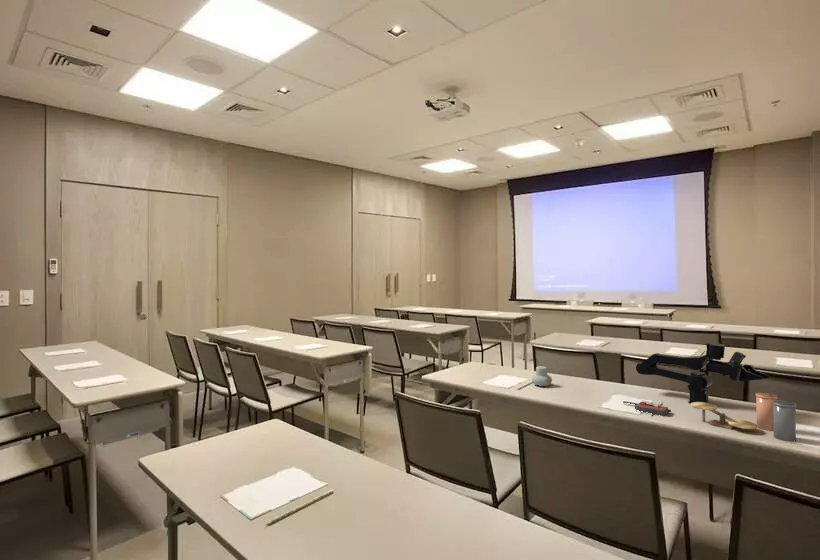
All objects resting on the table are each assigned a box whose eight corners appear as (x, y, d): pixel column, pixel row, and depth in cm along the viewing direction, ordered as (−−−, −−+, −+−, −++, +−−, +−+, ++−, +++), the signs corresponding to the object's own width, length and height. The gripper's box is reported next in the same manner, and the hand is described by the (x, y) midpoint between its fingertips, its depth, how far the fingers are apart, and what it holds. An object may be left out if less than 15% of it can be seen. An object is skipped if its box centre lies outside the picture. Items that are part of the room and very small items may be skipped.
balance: (687, 421, 182) (687, 405, 182) (695, 416, 187) (695, 400, 187) (753, 436, 165) (753, 418, 165) (760, 430, 170) (760, 412, 170)
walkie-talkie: (672, 412, 194) (623, 404, 207) (672, 402, 194) (623, 395, 207) (667, 418, 187) (617, 409, 201) (667, 407, 187) (617, 399, 201)
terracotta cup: (753, 427, 173) (753, 394, 173) (758, 424, 177) (758, 391, 177) (775, 432, 168) (774, 398, 168) (779, 428, 172) (779, 394, 172)
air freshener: (543, 388, 237) (543, 370, 237) (529, 386, 243) (529, 367, 243) (553, 384, 244) (553, 366, 244) (540, 382, 250) (539, 364, 250)
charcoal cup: (770, 438, 162) (770, 402, 162) (775, 433, 167) (775, 399, 166) (794, 443, 157) (794, 406, 157) (798, 438, 161) (798, 403, 161)
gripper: (717, 350, 192) (761, 359, 179) (732, 350, 203) (775, 358, 191) (713, 376, 192) (757, 386, 180) (728, 374, 203) (771, 383, 191)
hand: (765, 377), depth 185 cm, fingers open, 9 cm apart
